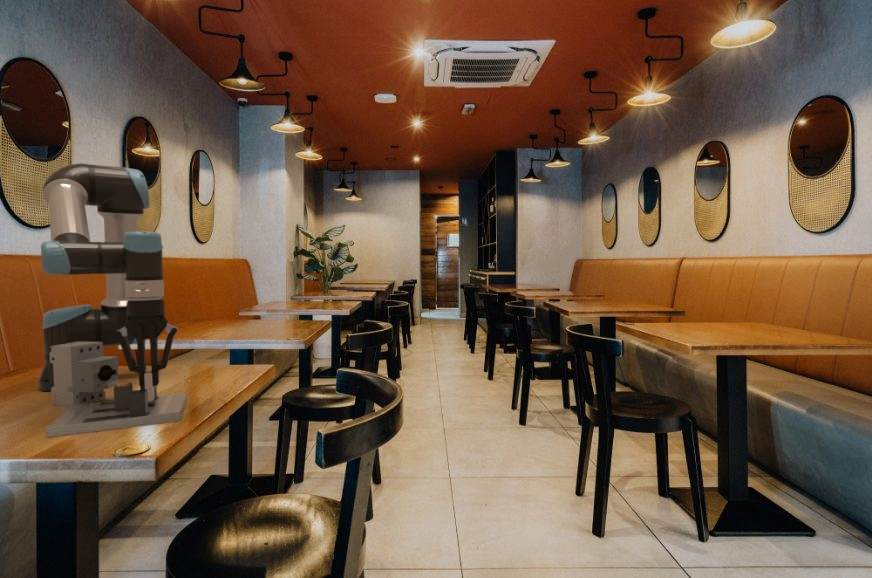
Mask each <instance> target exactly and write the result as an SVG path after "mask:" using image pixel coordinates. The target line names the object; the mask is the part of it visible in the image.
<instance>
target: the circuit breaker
mask: <svg viewBox="0 0 872 578" xmlns="http://www.w3.org/2000/svg"><path fill="white" fill-rule="evenodd" d="M50 348H51V352H50V363H53V372H54V387H51V390H52V391H51V400H53V403H52V404H51V405H52V406H57V407H59V406H60V407H71V406H72V405H78V404H87V403H97V402H100V401H102V400H105V399H106V389H110V388H114V387H115V386H116V385H117V384H118V383H120V379H119V378H120V376H119V359H118V358H119V357H118V356H115V355H114V356H110V355H109V356H106V355H105V356H104V347H103V342H72V343H66V344H60V345H55V346H50ZM52 357H54V360H52Z"/></svg>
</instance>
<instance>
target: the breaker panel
mask: <svg viewBox="0 0 872 578" xmlns="http://www.w3.org/2000/svg"><path fill="white" fill-rule="evenodd" d="M157 387H158V385H157V386H154V397H155V398H154V400H153V401H148V391H147V389H145V387H140V386H139V388H140V389H137V390H134V389H133V391H131V392H130V393H129V408H125V409H116V410H115V405H114V400H107V401H96V402H93V403H87V404H78V405H72V406H69V408H67V409H66V410H65V411H64V412H63V413H61V414H60V415H59V416H57V418H55V419H54V420H53V421H52V422H50V424H48V425H47V426H46V427H45V438H54V437H60V436H61V437H62V436H69V435H77V434H78V435H79V434H86V433H94V432H103V431H109V430H110V431H111V430H116V429H117V430H118V429H126V428H135V427H141V426H142V427H144V426H150V425H157V424H159V425H160V424H167V423H174V422H180V421H181V418H182V416H183V413H184V410H185V407H186V404H187V402H188V401H187V400H188V399H187V392H184V393H183V392H182V393H175V394H174V393H173V394H166V395H164V394H163V395H158V388H157Z"/></svg>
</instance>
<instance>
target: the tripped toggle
mask: <svg viewBox="0 0 872 578" xmlns="http://www.w3.org/2000/svg"><path fill="white" fill-rule="evenodd" d="M131 391H134V389H133V382H130V381H124V382H123V381H122V382H119V383H118V384H117V385H116V386H114V387H113V401H114V405H115V410H116V409H125V408H129V393H130V392H131Z"/></svg>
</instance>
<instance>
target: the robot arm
mask: <svg viewBox="0 0 872 578" xmlns="http://www.w3.org/2000/svg"><path fill="white" fill-rule="evenodd" d="M42 194H43V199H44V200H45V202H46V204H48V213H49V227H50V229H49V231H50V241H43V242H42V243H41V245H40V255H41V267H42V268H41V269H42V272H43V273H44V274H46V275H62V276H67V275H71V276H72V275H102V274H103V275H105V287H106V288H105V289H106V290H105V291H106V297H105V298H104V299H103V300H101V301H100V308H93V306H92V305H91V304H81V305H73V306H66V307H61V308H56V309H55V308H54V309H52V310H51V309H50V310H48V311H46V312H45V313H44V314H43V316H42V317H43V318H42V327H41V328H42V330H43V345H44V346H43V348H44V350H43V351H44V352H43V353H44V363H43V367H42V369H41V373H40V375H39V379H38V382H37V385H38V390H39V391H41V392H52V390H51V387H54V372H53V363H50V352H51V348H50V346H55V345H60V344H66V343H72V342H103V348H104V347H112V346H115V347H116V346H120V347H121V350H122V353H123V356H124V358H125V361H126V364H127V367H128V370H129V371H130V372H135V373H137V374H138V382H139V383H138V384H139V388H140V387H145V389H147V391H148V401H153V400H154V398H155V397H154V386H157V387H158V385H159V383H160V371H161V370H164V369H166V368H167V366H168V363H169V358H170V355H171V349H172V346H173V342H174V338H175V335H177V332H178V331H179V327H177V326H173V324H172V325H171V324H170V323H169V322H168V320H167V318H166V314H165V311H166V309H165V300H164V299H162V298H163V297H164V296H165V287H164V286H165V285H164V274H163V273H164V268H163V267H164V266H163V249H164V245H163V243H162V236H161V234H160V233H158V232H155V231H142V230H141V231H140V230H139V219H140V218H141V217H143V216H144V215H145V214H144V213H145V212H144V210H147V209H149V208H150V194H149V187H148V183H147V180H146V177H145V175H144V173H143V172H142V170H141V171H140V170H139V169H136V168H128V167H126V166H124V167H122V166H121V167H120V166H108V165H100V164H99V165H98V164H88V163H74V164H70V165H69V164H68V165H65V166H63V167H61V168H59V169H57V170H55V171H54V172H52V173H51V174H50V175H49V177H47V179H46V180H45V181H44V184H43V188H42ZM86 206H91V207H92V206H94V207H96V212H97V213H98V214H99V215H100V216H101V217H102V218H103V226H104V227H103V228H104V229H103V230H104V231H103V232H104V242H103V241H91V238H90V237H91V236H90V231H89V230H90V229H89V224H88V218H87V217H88V216H87V211H86ZM165 329H166V331H165V333H166V335H167V336H166V339H165V344H164V349H163V352H162V353H163V354H162V357H161V361H160V363H159V344H158V341H159V339H158V338H159V336H161V334H162V333H163V332H164V330H165ZM147 340H149V348H150V364H151V365H150V368H151V369H150V371H149V370H148V371H147V364H146V363H147V362H146V361H147V358H146V341H147ZM133 344H137V345H136V347H137V363H136V360H135V357H134V354H133V350H132V348H131V345H133ZM52 360H54V357H52Z"/></svg>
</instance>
